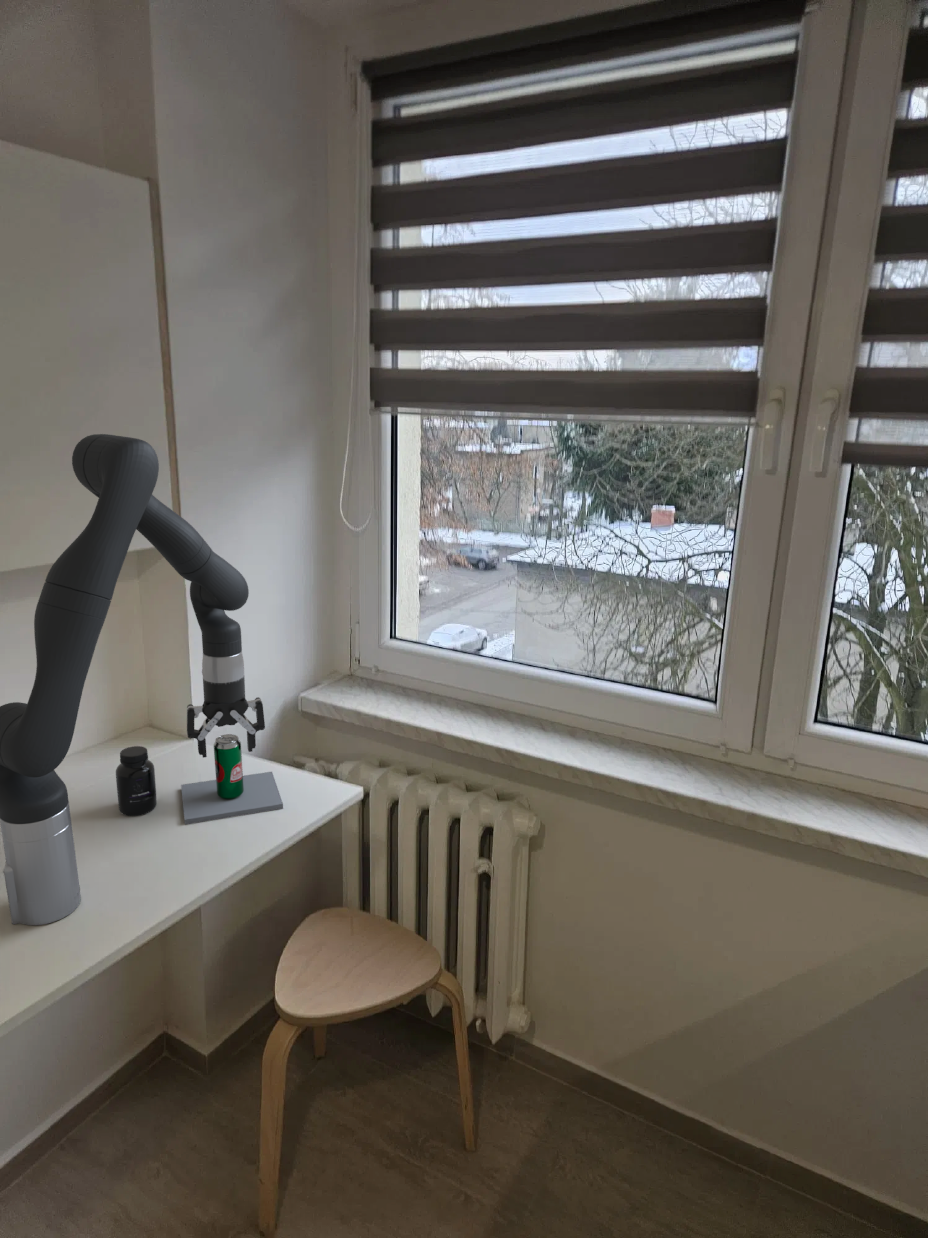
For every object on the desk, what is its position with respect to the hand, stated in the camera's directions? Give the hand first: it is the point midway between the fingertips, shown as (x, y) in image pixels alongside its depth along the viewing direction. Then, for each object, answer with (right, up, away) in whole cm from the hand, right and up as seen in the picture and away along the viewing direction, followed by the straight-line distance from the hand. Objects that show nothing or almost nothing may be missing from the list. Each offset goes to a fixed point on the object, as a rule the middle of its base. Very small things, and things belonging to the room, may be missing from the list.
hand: (227, 753), depth 152 cm
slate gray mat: (0, -10, +3) cm, 10 cm away
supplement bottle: (-17, -11, -1) cm, 20 cm away
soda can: (0, -9, +3) cm, 9 cm away
